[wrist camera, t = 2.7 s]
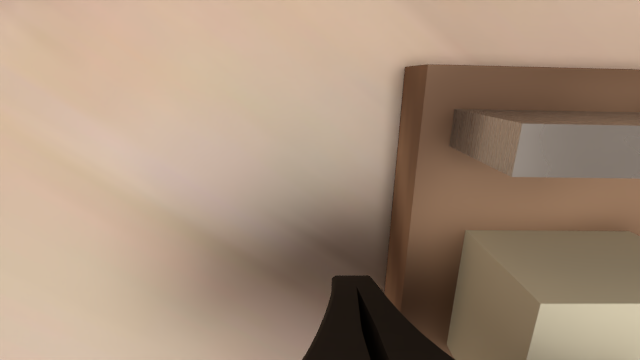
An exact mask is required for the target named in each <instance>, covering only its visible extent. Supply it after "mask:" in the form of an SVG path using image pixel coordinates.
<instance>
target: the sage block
mask: <svg viewBox="0 0 640 360" xmlns="http://www.w3.org/2000/svg"><path fill="white" fill-rule="evenodd" d="M447 346H448V348H449V350H450V352H451V354H452V356H453V358H454V359H455V360H640V236H638V235H636V234H634V233H632V232H630V231H512V230H466V231H465V237H464V243H463V249H462V255H461V261H460V267H459V273H458V279H457V285H456V291H455V297H454V303H453V309H452V315H451V321H450V327H449V333H448V339H447Z"/></svg>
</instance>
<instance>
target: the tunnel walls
mask: <svg viewBox="0 0 640 360" xmlns="http://www.w3.org/2000/svg"><path fill="white" fill-rule="evenodd" d="M449 146H450V147H452V148H454V149H456V150H458V151H460V152H462V153H464V154H466V155H468V156H470V157H472V158H474V159H476V160H478V161H480V162H482V163H484V164H486V165H488V166H490V167H492V168H494V169H496V170H498V171H501V172H503V173H505V174H507V175H509V176H511V177H551V178H633V179H640V112H591V111H540V110H489V109H454V116H453V123H452V130H451V137H450V145H449Z"/></svg>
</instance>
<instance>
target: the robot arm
mask: <svg viewBox="0 0 640 360" xmlns="http://www.w3.org/2000/svg"><path fill="white" fill-rule="evenodd" d="M302 360H455V359H454V358H452V357H451V356H450V355H448V354H447V353H446V352H444V351H443V350H442V349H440V348H439V347H438V346H437V345H435V344H434V343H433V342H432V341H431V340H429V339H428V338H427V337H426V336H425V335H423V334H422V333H421V332H420V331H419V330H418V329H417V328H416V327H415V326H414V325H413V324H412V323H410V322H409V321H408V320H407V318H406V317H405V316H404V315H403V314H402V313H401V312H400V311H399V310H398V309H397V308H396V307H395V306H394V305H393V303H392V302H391V301H390V300H389V299H388V298H387V297H386V295H385V294H384V293H383V292H382V291H381V289H380V288H379V287H378V286H377V284H376V283H375V282H374V281H373V279H372V278H371V277H370V276H334V277H333V278H332V292H331V296H330V300H329V303H328V307H327V310H326V313H325V315H324V318H323V320H322V323H321V325H320V328H319V330H318V332H317V334H316V336H315V338H314V340H313V342H312V344H311V346H310V348H309V349H308V351H307V353H306V354H305V356H304V358H303V359H302Z"/></svg>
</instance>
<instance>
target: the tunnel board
mask: <svg viewBox="0 0 640 360" xmlns="http://www.w3.org/2000/svg"><path fill="white" fill-rule="evenodd" d="M454 109H489V110H540V111H591V112H640V70H633V69H592V68H551V67H510V66H469V65H419V66H410V67H405V75H404V86H403V97H402V108H401V118H400V129H399V140H398V151H397V162H396V173H395V184H394V194H393V205H392V216H391V227H390V238H389V249H388V259H387V270H386V281H385V292H384V294H385V295H386V297H387V298H388V299H389V300H390V301H391V302H392V303H393V305H394V306H395V307H396V308H397V309H398V310H399V311H400V312H401V313H402V314H403V315H404V316H405V317H406V318H407V320H408V321H409V322H410V323H412V324H413V325H414V326H415V327H416V328H417V329H418V330H419V331H420V332H421V333H422V334H423V335H425V336H426V337H427V338H428V339H429V340H431V341H432V342H433V343H434V344H435V345H437V346H438V347H439V348H440V349H442V350H443V351H444V352H446V353H447V354H448V355H450V356H451V357H452V358H453V356H452V354H451V352H450V350H449V348H448V346H447V339H448V333H449V327H450V321H451V315H452V309H453V303H454V297H455V291H456V285H457V279H458V273H459V267H460V261H461V255H462V249H463V243H464V237H465V231H466V230H512V231H630V232H632V233H634V234H636V235H638V236H640V179H633V178H551V177H511V176H509V175H507V174H505V173H503V172H501V171H498V170H496V169H494V168H492V167H490V166H488V165H486V164H484V163H482V162H480V161H478V160H476V159H474V158H472V157H470V156H468V155H466V154H464V153H462V152H460V151H458V150H456V149H454V148H452V147H450V146H449V145H450V137H451V130H452V123H453V116H454Z"/></svg>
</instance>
